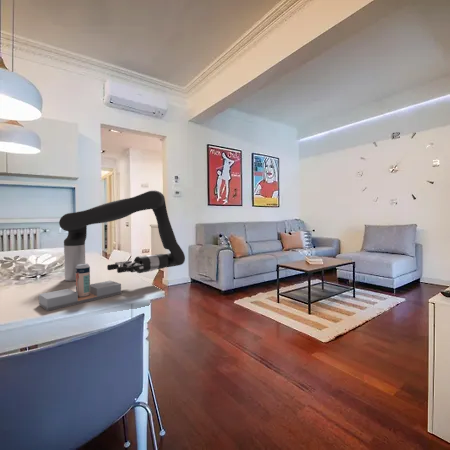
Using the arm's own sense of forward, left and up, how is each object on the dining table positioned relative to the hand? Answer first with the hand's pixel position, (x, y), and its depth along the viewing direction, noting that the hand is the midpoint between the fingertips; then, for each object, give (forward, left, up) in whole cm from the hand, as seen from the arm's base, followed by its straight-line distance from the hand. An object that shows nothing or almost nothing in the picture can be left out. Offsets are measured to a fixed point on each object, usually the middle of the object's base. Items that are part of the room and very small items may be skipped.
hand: (112, 269), depth 111 cm
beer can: (0, -12, -9) cm, 15 cm away
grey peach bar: (0, -12, -10) cm, 15 cm away
